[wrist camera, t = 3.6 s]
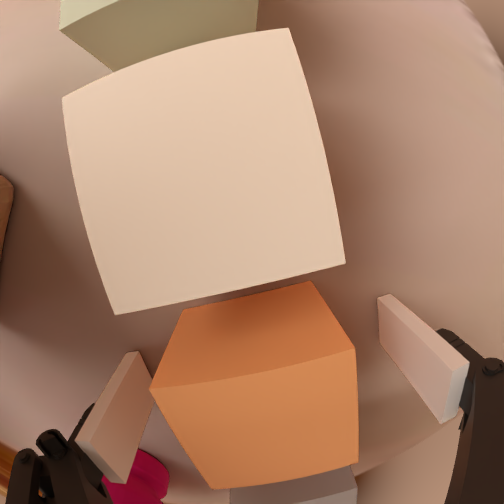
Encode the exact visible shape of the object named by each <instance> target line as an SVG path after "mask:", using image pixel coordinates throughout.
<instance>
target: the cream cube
mask: <svg viewBox="0 0 504 504" xmlns="http://www.w3.org/2000/svg"><path fill="white" fill-rule="evenodd" d="M62 106H63V116H64V124H65V131H66V138H67V145H68V151H69V157H70V163H71V168H72V173H73V178H74V183H75V188H76V192H77V196H78V201H79V205H80V209H81V213H82V217H83V221H84V224H85V228H86V232H87V235H88V239H89V242H90V245H91V249H92V252H93V255H94V258H95V262H96V265H97V268H98V271H99V274H100V277H101V279H102V282H103V285H104V288H105V291H106V293H107V296H108V299H109V301H110V304H111V307H112V309H113V312H114V314H115V315H119V314H124V313H130V312H135V311H140V310H145V309H150V308H155V307H160V306H165V305H170V304H175V303H179V302H184V301H189V300H194V299H198V298H203V297H207V296H212V295H217V294H221V293H226V292H230V291H235V290H239V289H243V288H248V287H252V286H256V285H261V284H265V283H269V282H273V281H278V280H282V279H286V278H290V277H294V276H298V275H302V274H306V273H310V272H314V271H318V270H322V269H326V268H330V267H334V266H338V265H342V264H346V261H345V255H344V248H343V242H342V236H341V230H340V224H339V218H338V213H337V207H336V202H335V197H334V192H333V187H332V182H331V177H330V173H329V168H328V164H327V159H326V155H325V151H324V146H323V142H322V138H321V134H320V130H319V126H318V122H317V118H316V115H315V111H314V107H313V104H312V100H311V96H310V93H309V90H308V86H307V83H306V79H305V76H304V73H303V70H302V66H301V63H300V60H299V57H298V54H297V51H296V48H295V45H294V42H293V39H292V36H291V33H290V30H289V28H281V29H273V30H265V31H258V32H252V33H246V34H241V35H235V36H230V37H225V38H221V39H216V40H212V41H208V42H203V43H199V44H196V45H192V46H188V47H185V48H181V49H178V50H174V51H171V52H168V53H165V54H162V55H159V56H156V57H153V58H150V59H147V60H144V61H141V62H139V63H136V64H133V65H131V66H128V67H126V68H123V69H121V70H118V71H116V72H114V73H111V74H109V75H107V76H104V77H102V78H100V79H98V80H96V81H94V82H91V83H89V84H87V85H85V86H83V87H81V88H79V89H77V90H75V91H73V92H71V93H69V94H68V95H66V96H64V97H62Z"/></svg>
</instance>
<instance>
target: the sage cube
mask: <svg viewBox="0 0 504 504" xmlns="http://www.w3.org/2000/svg"><path fill="white" fill-rule="evenodd" d="M258 4H259V0H61V5H60V22H59V31H61V32H62V33H64V34H65V35H66V36H68V37H69V38H70V39H72V40H73V41H74V42H76V43H77V44H78V45H80V46H81V47H82V48H84V49H85V50H86V51H88V52H89V53H90V54H91V55H93V56H94V57H95V58H97V59H98V60H99V61H101V62H102V63H103V64H104V65H106V66H107V67H108V68H109V69H111V70H112V71H113V72H116V71H118V70H121V69H123V68H126V67H128V66H131V65H133V64H136V63H139V62H141V61H144V60H147V59H150V58H153V57H156V56H159V55H162V54H165V53H168V52H171V51H174V50H178V49H181V48H185V47H188V46H192V45H196V44H199V43H203V42H208V41H212V40H216V39H221V38H225V37H230V36H235V35H241V34H246V33H252V32H256V25H257V14H258Z"/></svg>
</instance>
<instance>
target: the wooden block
mask: <svg viewBox="0 0 504 504" xmlns="http://www.w3.org/2000/svg"><path fill="white" fill-rule="evenodd" d="M12 202H13V186H12V184H11V183H10V181H9V180H7V179H6V178H4V177H3V176H2V175H0V260H1V253H2V248H3V242H4V237H5V232H6V227H7V223H8V218H9V214H10V210H11V206H12Z"/></svg>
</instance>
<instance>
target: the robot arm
mask: <svg viewBox="0 0 504 504" xmlns="http://www.w3.org/2000/svg"><path fill="white" fill-rule="evenodd" d="M377 304H378V320H379V343H380V345H381V346H382V347H383V348H384V350H385V351H386V352H387V353H388V355H389V356H390V357H391V359H392V360H393V361H394V363H395V364H396V365H397V366H398V368H399V369H400V370H401V372H402V373H403V374H404V376H405V377H406V378H407V380H408V381H409V382H410V383H411V385H412V386H413V387H414V389H415V390H416V391H417V393H418V394H419V396H420V397H421V398H422V400H423V401H424V402H425V404H426V405H427V406H428V408H429V409H430V410H431V412H432V413H433V415H434V416H435V417H436V419H437V420H438V422H439V423H440V424H442V423H444V422H446V421H448V420H450V419H452V418H454V417H456V415H457V412H458V409H459V406H460V407H461V408H462V409H463V411H464V414H463V417H462V420H461V423H460V426H459V429H461V432H460V438H459V444H458V450H457V455H456V460H455V465H454V469H453V474H452V478H451V482H450V486H449V490H448V493H447V497H446V500H445V503H444V504H504V362H503V361H502V360H499V359H497V358H486V359H484V358H483V357H482V356H481V355H479V354H478V353H477V352H476V351H475V350H474V349H472V348H471V347H470V346H469V345H468V344H465V342H464V341H463V340H462V339H459V337H458V336H457V335H456V334H454V333H453V332H451V331H449V330H446V329H443V328H442V329H440V330H437V331H434V330H433V329H432V328H431V327H429V326H428V325H427V324H426V323H425V322H424V321H423V320H421V319H420V318H419V317H418V316H417V315H415V314H414V313H413V312H412V311H411V310H410V309H408V308H407V307H406V306H405V305H404V304H402V303H401V302H400V301H399V300H398V299H396V298H395V297H394V296H393V295H391V294H387V295H384V296H381V297H378V298H377ZM151 383H152V378H151V376H150V374H149V372H148V370H147V368H146V365H145V363H144V361H143V359H142V357H141V355H140V352H139V351H135V352H127V353H126V354H125V356H124V357H123V359H122V361H121V362H120V364H119V366H118V367H117V369H116V370H115V372H114V374H113V375H112V377H111V379H110V380H109V382H108V384H107V385H106V387H105V388H104V390H103V392H102V394H101V395H100V397H99V399H98V400H97V402H96V403H93V404H92V405H91V406H90V407H89V408H88V409H87V410H86V411H85V412H84V414H83V416H82V419H80V421H79V423H78V425H77V426H76V428H75V429H74V431H73V433H72V435H71V436H70V438H69V440H68V441H66V439H65V438H64V437H63V435H62V434H61V433H60V431H58V430H56V429H50V430H47V431H45V432H43V433H42V434H41V435H40V436H39V437H38V439H37V440H36V445H37V446H38V448H39V449H40V450H41V451H42V452H43V454H44V455H45V456H38V455H37V454H36V453H35V451H34V450H32V449H30V448H26V449H23V450H21V451H19V452H18V454H17V455H16V456H15V459H14V462H13V466H12V471H11V476H10V481H9V486H8V491H7V497H6V504H114V503H113V501H112V499H111V497H110V494H109V492H108V490H107V487H106V485H105V484H104V483H103V482H102V477H103V475H105V477H106V478H107V479H108V480H109V481H110V482H113V483H121V484H126V482H127V479H128V476H129V473H130V470H131V467H132V464H133V461H134V458H135V455H136V452H137V449H138V446H139V443H140V440H141V438H142V435H143V432H144V429H145V426H146V423H147V421H148V418H149V415H150V412H151V409H152V407H153V404H154V401H155V400H154V398H153V396H152V394H151V392H150V390H149V387H150V385H151ZM39 490H40V491H41V492H42V493H43V494H42V497H40V496H39V494H38V491H39Z"/></svg>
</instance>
